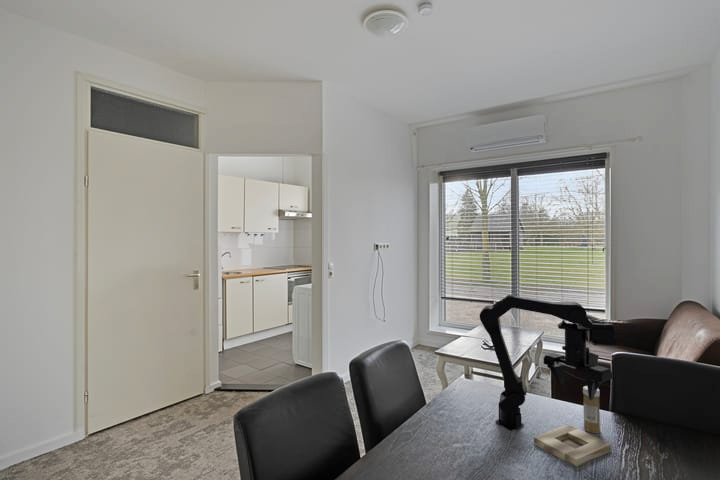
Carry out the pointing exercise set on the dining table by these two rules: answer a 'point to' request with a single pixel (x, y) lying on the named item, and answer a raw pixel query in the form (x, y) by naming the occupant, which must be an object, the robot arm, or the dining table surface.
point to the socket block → (572, 445)
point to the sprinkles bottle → (591, 412)
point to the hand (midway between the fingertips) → (576, 394)
